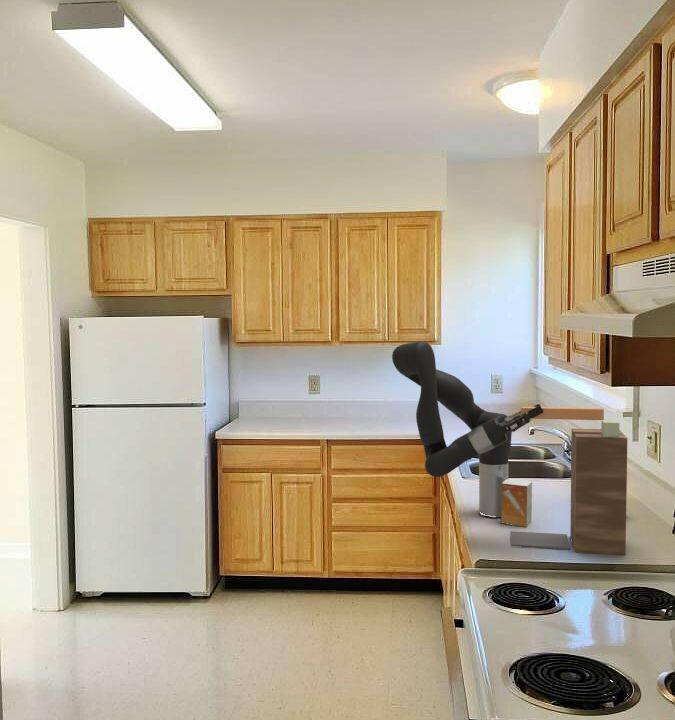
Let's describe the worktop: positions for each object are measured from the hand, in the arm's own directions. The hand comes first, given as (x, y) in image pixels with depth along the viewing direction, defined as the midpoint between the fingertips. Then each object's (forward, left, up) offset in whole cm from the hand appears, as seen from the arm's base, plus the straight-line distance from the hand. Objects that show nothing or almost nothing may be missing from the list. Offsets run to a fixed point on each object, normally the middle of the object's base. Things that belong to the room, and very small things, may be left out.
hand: (541, 407), depth 202 cm
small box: (-17, -6, -39) cm, 43 cm away
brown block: (0, +6, -3) cm, 6 cm away
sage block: (+5, +18, -7) cm, 20 cm away
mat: (0, 0, -39) cm, 39 cm away
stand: (+1, +15, -39) cm, 42 cm away
